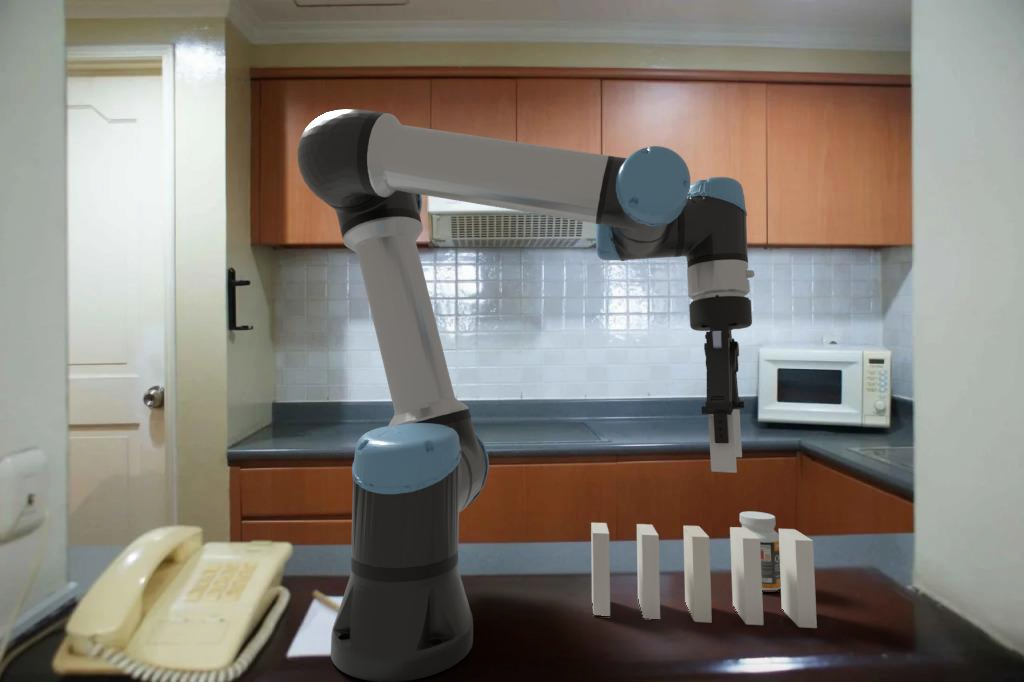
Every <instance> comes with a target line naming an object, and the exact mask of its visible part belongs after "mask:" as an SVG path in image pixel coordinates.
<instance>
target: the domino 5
mask: <svg viewBox="0 0 1024 682" xmlns="http://www.w3.org/2000/svg"><path fill="white" fill-rule="evenodd" d="M778 534H779V554H780V579H781V590H780V597H781V598H780V599H781V610H782V609H783V610H784V611H783V610H782V611H783V612H784V613H785V615H787V617H788V618H790V619H791V620H792V622H793V623H794V624H795V625H796V626H797V627H798V628H810V629H817V628H818V625H817V623H818V621H817V602H816V601H817V600H816V581H815V580H816V579H815V576H816V574H815V560H814V559H815V557H814V553H815V552H814V540H813V539H811V538H809V537H808V536H806V535H805V534H803V533H802V532H800V531H799V530H796V529H795V528H778Z"/></svg>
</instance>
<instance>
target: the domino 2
mask: <svg viewBox="0 0 1024 682" xmlns="http://www.w3.org/2000/svg"><path fill="white" fill-rule="evenodd" d="M636 554H637V555H636V556H637V557H636V559H637V560H636V562H637V565H636V566H637V569H636V570H637V575H636V576H637V600H638V599H639V604H640V607H641V610H640V612H641V611H642V613H641V616H642V615H643V616H642V619H643V618H645V619H644V620H647V619H646V618H649V619H648V620H651V619H660V620H661V601H660V600H661V595H660V594H661V593H660V586H661V585H660V584H661V583H660V541H659V534H658V532H657V530H656V528H655V527H654V525H653V524H646V523H636ZM639 604H638V605H639ZM640 607H639V608H640Z"/></svg>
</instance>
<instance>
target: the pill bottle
mask: <svg viewBox="0 0 1024 682" xmlns="http://www.w3.org/2000/svg"><path fill="white" fill-rule="evenodd" d="M776 522H777V521H776V516H775V515H773V514H771V513H767V512H761V511H752V510H751V511H742V512H739V523H740V524H741V527H745V528H747V529H748V530H750V531H751V532H752V533H753V534H755V535H756V536H757V537H758V538H760V551H761V575H762V590H778V589H781V579H780V554H779V532H777V531H776V530H775V528H776V525H777V523H776Z"/></svg>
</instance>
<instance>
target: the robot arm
mask: <svg viewBox="0 0 1024 682" xmlns="http://www.w3.org/2000/svg"><path fill="white" fill-rule="evenodd" d="M296 153H297V154H296V155H297V164H298V168H299V172H300V174H301V177H302V180H303V181H304V183H305V184H306V186H307V188H308V189H309V190H310V191H311V192H312V193H313V194H314V196H316V197H317V198H319V199H320V200H321V201H323V202H324V203H325V204H327V205H328V206H330V207H331V208H332V209H334V211H335V213H336V216H337V221H338V225H339V228H340V235H341V237H342V242H343V245H344V246H346V248H348V249H349V250H351V251H353V252H355V253H356V254H357V258H358V263H359V266H360V270H361V274H362V279H363V283H364V288H365V291H366V295H367V302H368V304H369V309H370V314H371V317H372V322H373V325H374V330H375V333H376V334H375V335H376V337H377V344H378V347H379V348H378V349H379V351H380V355H381V359H382V364H383V368H384V373H385V377H386V381H387V384H388V388H389V394H390V398H391V401H392V402H391V403H392V405H393V411H394V415H393V417H392V418H391V420H390V422H389V423H388V425H387V426H381V427H378V428H375V429H371V430H369V431H367V432H366V433H364V434H362V436H360V438H359V439H358V440H357V442H356V444H355V447H354V448H355V449H354V456H353V457H354V459H353V462H352V466H351V474H352V498H351V499H352V502H351V503H352V504H351V505H352V506H351V511H352V512H351V548H350V549H351V550H350V551H351V552H350V559H351V560H350V575H349V579H348V581H347V585H346V588H345V591H344V594H343V597H342V600H341V601H340V606H339V607H338V612H337V614H336V618H335V620H334V622H333V626H332V630H331V639H330V658H331V661H332V663H333V664H334V666H335V667H336V668H337V669H338V670H339V671H341V672H342V673H344V674H345V675H348V676H351V677H353V678H356V679H359V680H364V681H368V682H407V681H409V682H410V681H412V680H419V679H423V678H427V677H431V676H434V675H436V674H439V673H441V672H444V671H446V670H448V669H451V668H452V667H453V666H454V667H455V666H456V665H457V664H458V663H460V662H461V661H462V660H463V659H465V658H466V656H468V654H469V653H470V651H471V650H472V647H473V644H474V619H473V614H472V611H471V607H470V605H469V601H468V597H467V595H466V592H465V591H466V590H465V588H464V583H463V581H462V577H461V574H460V571H459V535H460V534H459V529H460V528H459V527H460V526H459V525H460V524H459V523H460V519H459V517H460V513H461V512H462V511H464V509H466V508H468V507H469V506H470V505H471V504H472V503H473V502H474V501H475V500H476V499H477V498H478V497H479V495H480V494H481V492H482V490H483V489H484V486H485V484H486V481H487V477H488V475H489V469H490V468H489V467H490V466H489V465H490V462H489V461H490V460H489V455H488V450H487V448H486V446H485V444H484V442H483V440H482V438H480V436H479V435H478V434H476V431H475V427H474V424H473V420H472V416H471V412H470V411H471V410H470V408H469V406H468V405H466V404H465V403H464V402H461V401H460V400H458V399H457V397H455V393H454V388H453V385H452V382H451V381H452V380H451V376H450V373H449V369H448V365H447V361H446V356H445V353H444V349H443V345H442V341H441V337H440V333H439V332H440V331H439V329H438V325H437V321H436V317H435V313H434V308H433V304H432V301H431V297H430V293H429V290H428V285H427V281H426V278H425V273H424V269H423V266H422V265H423V264H422V262H421V257H420V253H419V250H418V246H417V240H418V239H419V237H420V236H421V235H422V232H423V230H424V226H423V223H422V218H421V212H422V207H423V197H422V196H427V197H433V198H439V199H446V200H451V201H457V202H465V203H470V204H477V205H480V206H481V205H483V206H488V207H494V208H499V209H500V208H501V209H506V210H514V211H517V212H518V211H519V212H525V213H531V214H536V215H542V216H543V215H544V216H549V217H555V218H562V219H567V220H574V221H579V222H586V223H592V224H595V242H596V243H595V244H596V245H595V246H596V254H597V256H598V258H599V259H600V260H604V261H620V262H625V261H629V260H630V261H631V260H647V259H648V260H649V259H661V258H663V259H665V258H680V257H686V262H687V263H686V264H687V269H686V273H687V274H686V277H687V295H688V298H689V299H691V300H692V301H690V304H688V306H689V310H688V312H689V327H690V328H691V330H694V331H697V332H698V331H700V332H705V335H704V338H705V342H704V344H703V345H704V347H703V350H704V356H705V367H706V368H705V369H706V401H705V405H703V406H702V405H701V415H704V416H705V415H707V417H708V432H709V433H708V434H709V454H710V456H709V457H710V471H711V472H715V473H716V472H717V473H733V474H735V473H736V474H737V473H738V469H737V458H742V457H743V450H742V449H743V447H742V431H741V416H740V413H741V412H740V410H741V409H743V410H744V409H745V401H741V399H740V397H739V386H738V375H737V372H739V356H740V346H739V342H738V341H736V340H735V338H733V335H732V331H733V330H741V329H746V328H750V326H751V325H752V323H753V314H752V300H751V299H750V298H749V297H748V296H747V295H748V294H749V293H750V292H751V290H750V288H751V287H750V286H751V285H750V280H749V279H751V278H754V277H755V271H754V270H752V269H749V255H748V232H747V230H748V229H747V216H748V212H747V210H746V202H745V201H746V200H745V195H744V189H743V186H742V184H741V183H740V181H738V180H736V179H734V178H732V177H728V176H726V177H725V176H715V177H709V178H707V179H700V180H697V181H695V182H692V183H691V174H690V173H691V172H690V170H689V167H688V165H687V163H686V162H685V160H684V159H683V157H682V156H681V155H680V154H678V153H677V152H676V151H674V150H672V149H671V148H668V147H664V146H660V145H651V146H646V147H643V148H640V149H638V150H635V151H634V152H632V153H631V154H630V155H629V156H628V157H620V156H613V155H606V154H600V153H591V152H585V151H581V150H575V149H574V150H573V149H566V148H559V147H554V146H546V145H539V144H534V143H533V144H532V143H525V142H520V141H513V140H507V139H499V138H492V137H486V136H485V137H484V136H480V135H471V134H467V133H460V132H459V133H458V132H453V131H444V130H439V129H431V128H425V127H420V126H419V127H418V126H411V125H404V124H402V123H401V122H400V121H399V119H398V118H397V117H396V115H394V114H392V113H388V112H387V113H386V112H380V111H373V110H367V109H354V108H353V109H350V108H349V109H337V110H333V111H328V112H325V113H324V114H322V115H321V114H320V116H318V117H317V118H315V119H314V120H312V121H311V122H310V123H309V124H308V125H307V126H306V128H305V129H304V131H303V132H302V134H301V137H300V139H299V141H298V147H297V151H296ZM746 296H747V297H746Z"/></svg>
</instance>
